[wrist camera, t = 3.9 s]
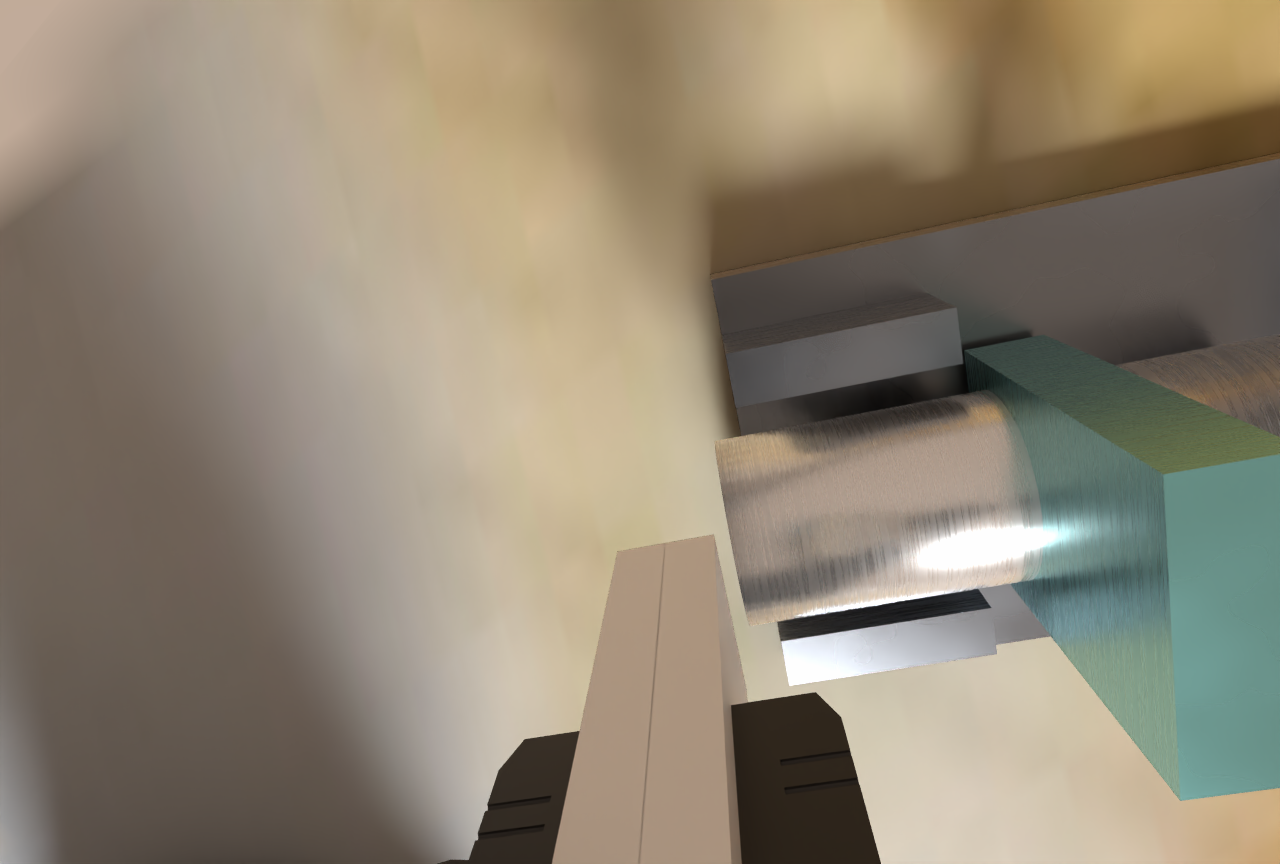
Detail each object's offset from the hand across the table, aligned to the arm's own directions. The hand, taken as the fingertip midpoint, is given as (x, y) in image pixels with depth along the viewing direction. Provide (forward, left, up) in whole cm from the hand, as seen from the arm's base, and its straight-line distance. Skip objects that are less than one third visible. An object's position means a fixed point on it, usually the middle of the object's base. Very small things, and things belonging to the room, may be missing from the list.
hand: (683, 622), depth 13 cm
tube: (+6, 0, -5) cm, 8 cm away
